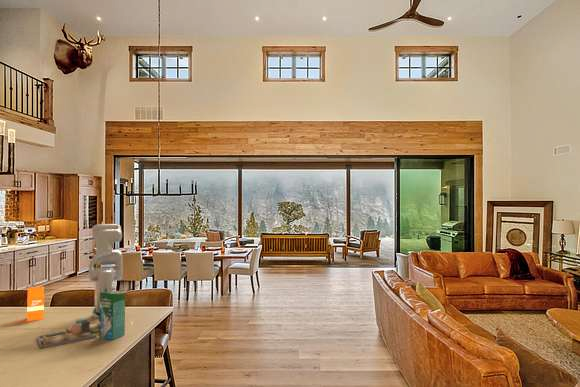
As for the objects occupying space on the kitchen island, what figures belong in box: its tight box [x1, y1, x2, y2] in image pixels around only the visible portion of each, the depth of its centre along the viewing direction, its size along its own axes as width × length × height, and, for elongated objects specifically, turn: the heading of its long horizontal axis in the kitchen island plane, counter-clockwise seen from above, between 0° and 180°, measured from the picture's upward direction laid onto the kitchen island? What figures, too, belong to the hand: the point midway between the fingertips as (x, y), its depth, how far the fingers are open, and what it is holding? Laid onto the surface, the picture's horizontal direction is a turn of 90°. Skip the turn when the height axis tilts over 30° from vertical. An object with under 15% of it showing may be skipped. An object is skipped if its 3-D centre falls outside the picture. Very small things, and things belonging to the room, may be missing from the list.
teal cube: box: [75, 317, 89, 329], centre depth 211 cm, size 5×5×5 cm
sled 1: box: [42, 320, 91, 345], centre depth 199 cm, size 21×7×8 cm, turn 129°
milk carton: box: [98, 290, 126, 341], centre depth 205 cm, size 9×9×25 cm
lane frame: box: [36, 330, 98, 350], centre depth 202 cm, size 26×19×1 cm
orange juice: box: [26, 285, 45, 322], centre depth 237 cm, size 8×9×20 cm
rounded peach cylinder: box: [71, 323, 81, 335], centre depth 201 cm, size 4×4×5 cm
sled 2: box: [64, 322, 100, 334], centre depth 213 cm, size 21×7×8 cm, turn 129°
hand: (104, 322), depth 218 cm, fingers closed on sled 2, 3 cm apart
